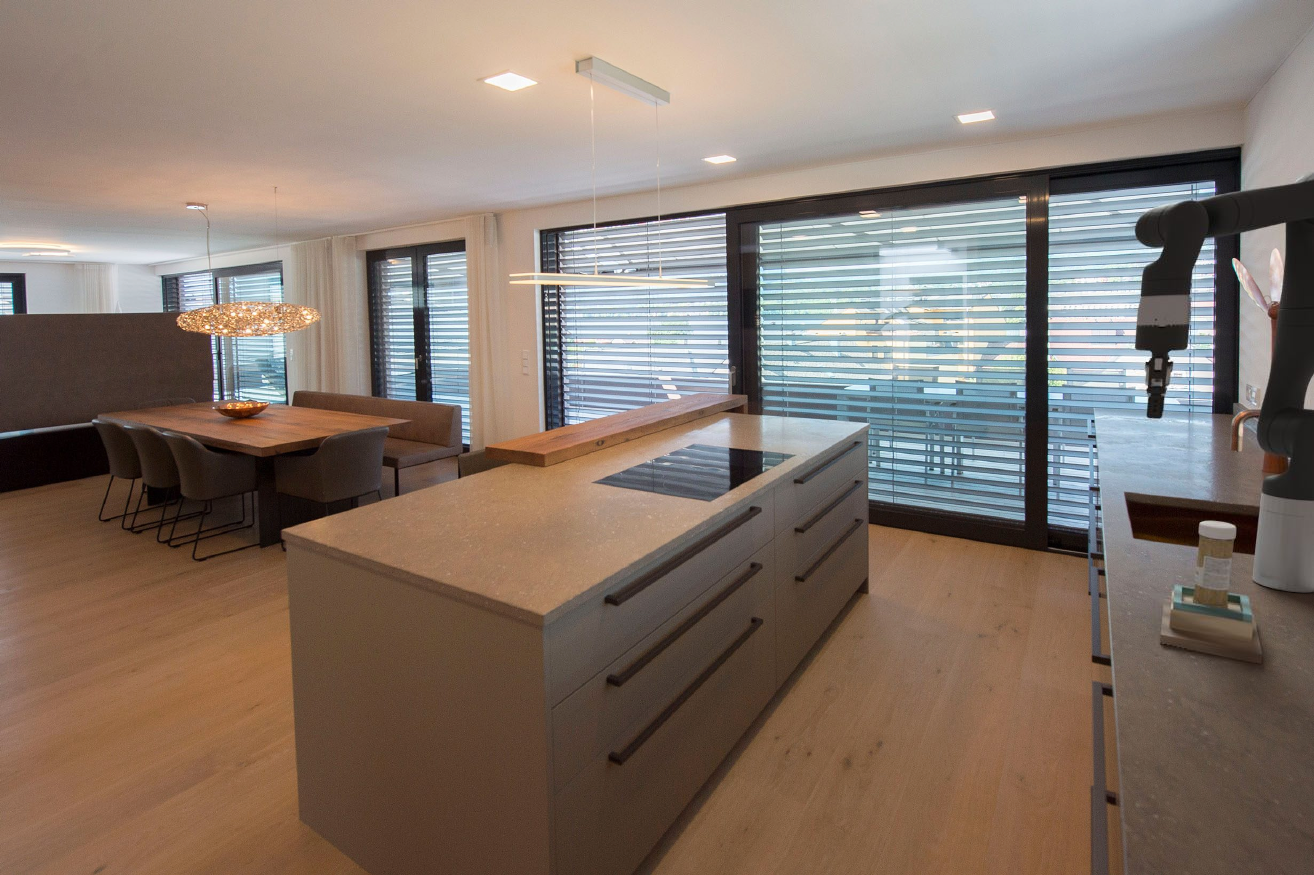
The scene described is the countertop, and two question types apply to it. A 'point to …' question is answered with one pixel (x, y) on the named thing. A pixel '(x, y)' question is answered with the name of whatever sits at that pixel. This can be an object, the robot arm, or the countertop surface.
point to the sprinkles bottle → (1214, 563)
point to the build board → (1210, 641)
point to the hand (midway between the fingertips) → (1155, 415)
